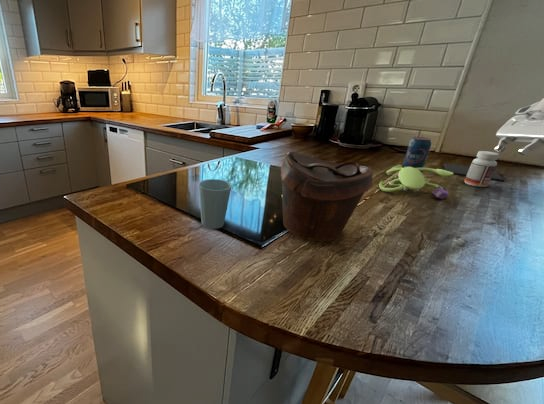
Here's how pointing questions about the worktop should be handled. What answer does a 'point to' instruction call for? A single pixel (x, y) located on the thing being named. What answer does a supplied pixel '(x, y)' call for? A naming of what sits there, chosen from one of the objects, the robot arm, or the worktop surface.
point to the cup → (214, 202)
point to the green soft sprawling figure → (415, 180)
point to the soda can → (417, 152)
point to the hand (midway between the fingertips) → (508, 152)
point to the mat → (464, 170)
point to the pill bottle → (482, 169)
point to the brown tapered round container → (320, 195)
